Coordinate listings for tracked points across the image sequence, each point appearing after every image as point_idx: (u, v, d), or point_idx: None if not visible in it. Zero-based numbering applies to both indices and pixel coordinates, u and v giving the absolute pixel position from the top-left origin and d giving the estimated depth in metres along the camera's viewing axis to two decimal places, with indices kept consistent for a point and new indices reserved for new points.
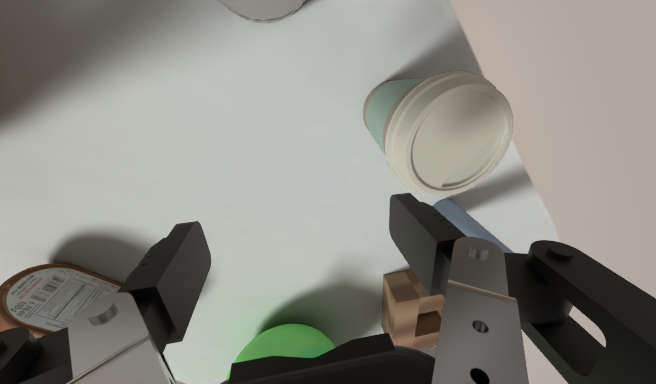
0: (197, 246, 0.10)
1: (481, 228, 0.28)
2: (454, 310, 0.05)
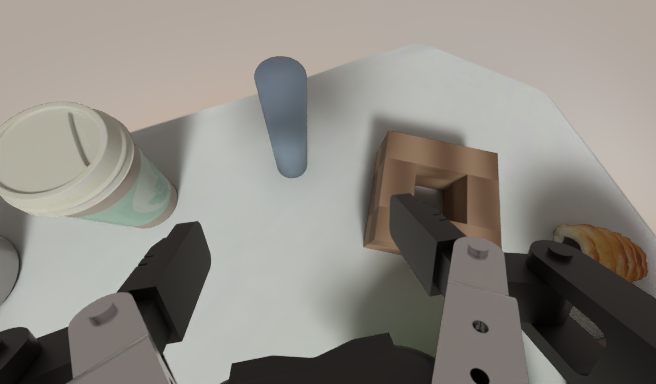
0: (197, 246, 0.10)
1: None
2: (454, 310, 0.05)
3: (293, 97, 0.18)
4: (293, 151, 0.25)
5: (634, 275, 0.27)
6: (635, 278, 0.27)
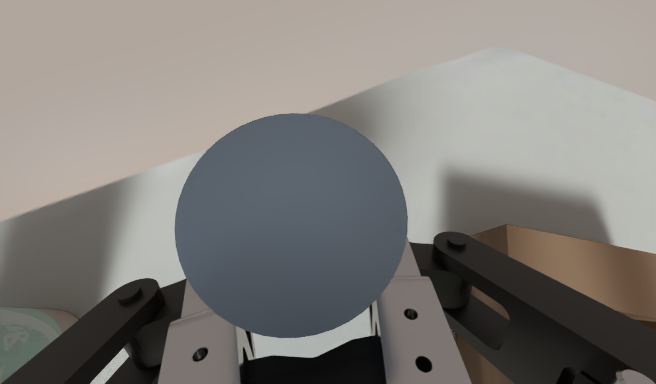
0: None
1: None
2: (386, 306, 0.05)
3: (354, 314, 0.04)
4: None
5: None
6: None
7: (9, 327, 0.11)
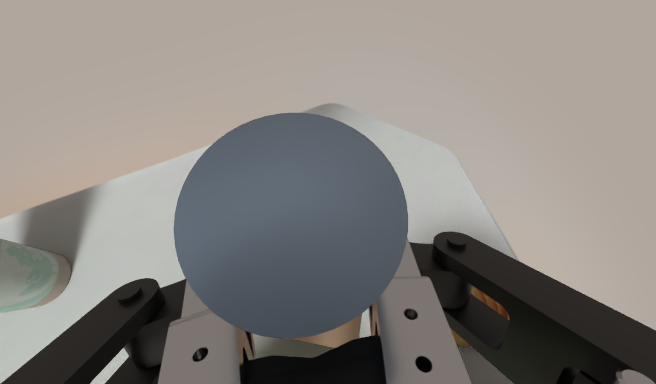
0: None
1: None
2: (386, 306, 0.05)
3: (354, 314, 0.04)
4: None
5: None
6: None
7: (34, 252, 0.27)
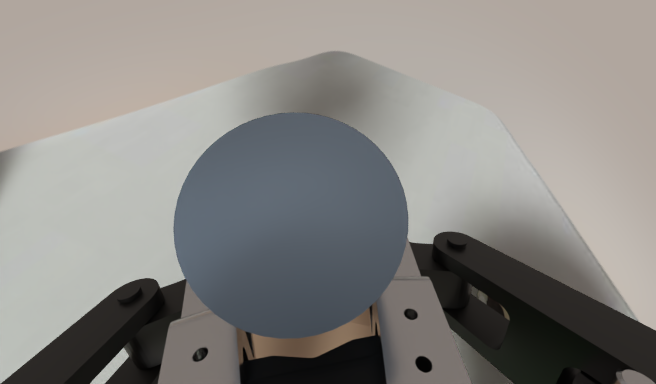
0: None
1: None
2: (386, 306, 0.05)
3: (354, 314, 0.04)
4: None
5: None
6: None
7: None
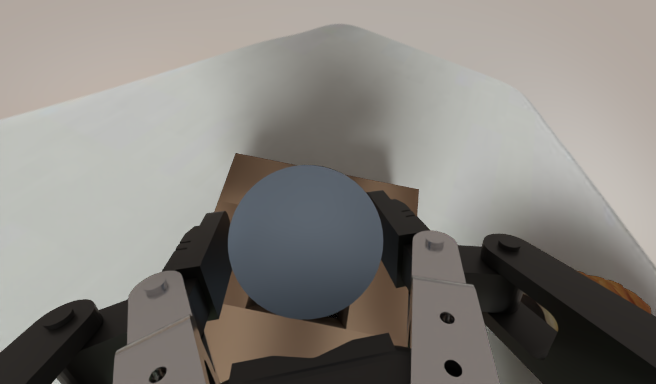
0: (226, 234, 0.10)
1: None
2: (422, 305, 0.05)
3: (346, 305, 0.06)
4: None
5: None
6: None
7: None
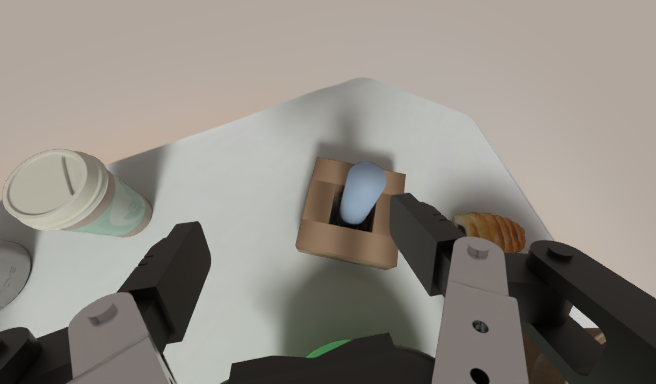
0: (197, 246, 0.10)
1: None
2: (454, 310, 0.05)
3: (377, 195, 0.23)
4: (361, 218, 0.30)
5: (511, 248, 0.34)
6: (513, 251, 0.34)
7: (130, 188, 0.33)
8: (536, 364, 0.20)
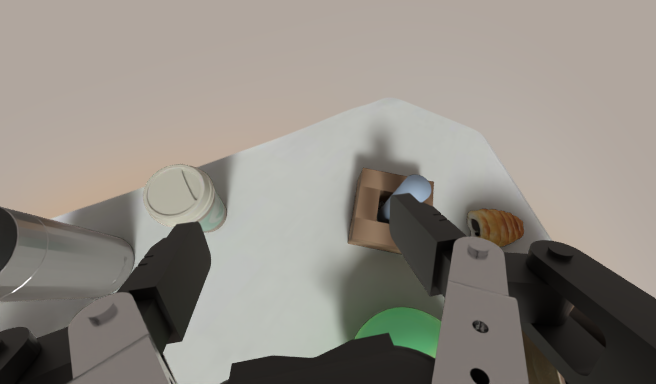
0: (197, 246, 0.10)
1: (387, 200, 0.40)
2: (454, 310, 0.05)
3: (425, 199, 0.32)
4: None
5: (514, 236, 0.43)
6: (515, 238, 0.43)
7: None
8: None
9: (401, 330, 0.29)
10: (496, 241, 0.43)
